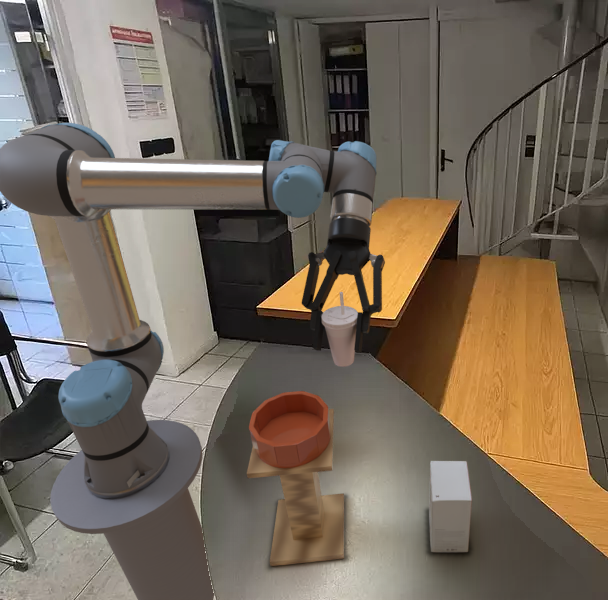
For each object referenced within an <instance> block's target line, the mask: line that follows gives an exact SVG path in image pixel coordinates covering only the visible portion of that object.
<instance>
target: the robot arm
mask: <svg viewBox="0 0 608 600" xmlns="http://www.w3.org/2000/svg"><path fill="white" fill-rule="evenodd" d="M376 178H377V154H376V151H375V149H374V148H373V147H371V145H369V144H368V143H365V142H363V141H358V140H355V141H345V142H343V143H341V144H340V145H339V147H338V149H337V150H328V149H324V148H319V147H315V146H311V145H307V144H302V143H297V142H295V141H292V140H290V141H286V140H281V139H276V140H273V142H271V145H270V150H269V157H268V160H266V161H265V160H248V159H246V160H244V159H243V160H242V159H190V158H189V159H188V158H184V159H183V158H141V157H140V158H135V157H134V158H131V157H130V158H129V157H128V158H127V157H116V155H115V153H114V151H113V148H112V147H111V145H110V144H109V143H108V141H107V140H106V139H105V138H104V137H103V136H102V135H101V134H99V133H97V132H96V131H95V130H93V129H92V128H90V127H88V126H86V125H83V124H79V123H76V122H60V123H54V124H47V125H45V126H42V127H40V129H37V130H34V131H32V132H29V133H27V134H24V135H21V136H18V137H16V138H13V139H11V140H9V141H7V142H6V143H4V144H3V145H2V146H1V147H0V193H1V195H2V196H3V197H4V198H5V199H6V200H7V202H9V203H11V204H12V205H14V206H15V207H17V208H19V209H21V210H23V211H24V212H27V213H29V214H34V215H38V216H46V217H49V218H51V219H52V220H54V222H55V225H56V228H57V231H58V234H59V237H60V240H61V243H62V246H63V249H64V252H65V255H66V258H67V262H68V264H69V267H70V270H71V273H72V275H73V279H74V281H75V284H76V287H77V291H78V293H79V296H80V300H81V303H82V305H83V308H84V312H85V314H86V317H87V320H88V323H89V326H90V329H91V331H90V333H89V334H88V336H87V337H86V346H87V347H88V352H89V354H90V357H91V360H92V361H91V362H88V363H86V364H84V365H82V366H80V367H79V368H80V369H79V370H74V371H72V372H70V373H69V375H68V376H67V377H66V378H65V379H64V380H63V381H62V383H61V385H60V387H59V390H58V402H59V405H60V409H61V413H62V415H63V417H64V418H65V420H66V421H67V424H68V425H69V426H70V429H71V431H72V433H73V435H74V437H75V438H76V442H77V443H78V445H79V448H80V450H82V451H83V453H84V481H85V484H86V486H87V488H88V490H89V491H90V493H91V494H92V495H94V496H96V497H98V498H101V499H118V498H123V497H127V496H130V495H132V494H135V493H137V492H139V491H141V490H143V489H144V488H146V487H148V486H149V485H150V484H152V483H153V482H154V481H155V480H156V479H158V478H159V476H160V475H161V474H162V473H163V472H164V470H165V469H166V467H167V465H168V462H169V450H168V448H167V445H166V443H165V442H164V440H163V439H162V438H160V437H159V436H158V435H157V434H156V433H155V432H154V431H153V430H152V429H151V428H150V427H149V426H148V423H147V421H148V420H147V418H146V415H145V412H144V410H143V403H144V401H145V398H146V396H147V394H148V392H149V390H150V387H151V385H152V383H153V382H154V380H155V376H156V375H157V373H158V372H159V370H160V368H161V366H162V363H163V358H164V354H165V352H164V351H165V350H164V344H163V341H162V339H161V337H160V336H159V334H158V333H157V332H156V331H152V329H151V326H150V325H149V323H148V322H147V321H144V320H142V319H140V316H139V313H138V309H137V305H136V302H135V299H134V295H133V291H132V288H131V284H130V281H129V280H130V279H129V276H128V273H127V269H126V266H125V263H124V259H123V255H122V252H121V248H120V245H119V241H118V238H117V234H116V230H115V226H114V222H113V219H112V216H111V211H112V210H115V211H116V210H120V211H121V210H125V211H127V210H132V211H133V210H140V211H141V210H142V211H143V210H145V211H146V210H152V211H153V210H154V211H155V210H159V211H160V210H169V211H170V210H174V211H175V210H179V211H180V210H183V211H184V210H185V211H186V210H188V211H189V210H193V211H194V210H198V211H199V210H205V211H206V210H207V211H208V210H211V211H212V210H215V211H216V210H217V211H218V210H223V211H225V210H230V211H231V210H232V211H233V210H235V211H236V210H239V211H240V210H244V211H245V210H250V211H251V210H254V211H255V210H256V211H257V210H270V211H271V210H276V211H277V210H278V211H280V212H282V213H283V214H285V215H286V216H287V217H288V216H289V217H291V218H296V219H302V218H306V217H310V216H311V215H313V214H314V213H315V212H316V211H317V210H318V209H319V207H320V206H321V205H322V201H323V197H324V193H330V194H332V200H331V207H330V214H329V221H330V223H329V224H328V231H327V243H326V246H325V248H324V250H323V251H322V252H318V253H317V252H316V253H315V252H313V251H311V252H309V253H308V255H307V257H308V263H309V265H308V270H307V273H306V274H307V275H306V280H305V285H304V289H303V293H302V298H301V305H302V306H303V307H304V308H305V309H307V310H310V320H309V328H310V330H312V331H314V334H313V342H312V349H314V350H315V351H318V352H321V351H322V346H323V337H324V330H325V326H324V325H323V324H322V318H321V316H322V314H323V312H324V311H323V308H324V307H325V304H326V302H327V300H328V297H329V295H330V293H331V291H332V289H333V287H334V285H335V282H336V281H337V280H338V279H339V276H343V275H349V276H353V277H354V280H355V284H356V289H357V293H358V297H359V298H358V299H359V301H360V305H361V310H362V311H357V312H358V316H357V326H356V337H355V348H354V350H355V353H357V354H362V352H363V351H362V350H363V340H364V334H369V333H370V329H371V316H372V315H373V314H376V313H381V312H382V310H383V273H382V272H383V269H384V267H385V264H386V261H385V258H384V255H383V254H378V255H376V254H373V253H371V251H370V241H371V231H372V229H371V227H370V226H371V225H372V219H373V208H374V205H373V204H374V196H375V187H376ZM324 260H325V261H326V262H327V263H328V267H327V269H326V271H325V272H326V273H325V276H324V278H323V279H322V282H321V284H320V286H319V289H318V290H317V293H316V289H317V285H318V280H319V274H320V267H321V266H322V265H323V262H324ZM369 262H370V265H371V267H372V304H370V300H369V296H368V293H367V289H366V285H365V284H366V283H365V280H364V276H363V271H362V270H363V269H364V268H365V266H366V265H367V264H368V263H369ZM315 294H316V295H315Z"/></svg>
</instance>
